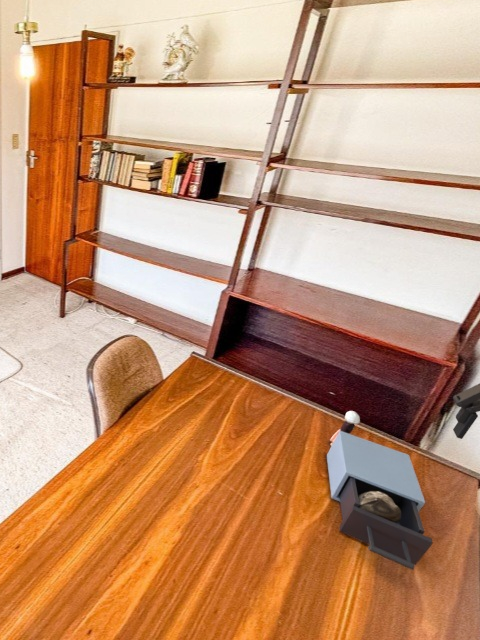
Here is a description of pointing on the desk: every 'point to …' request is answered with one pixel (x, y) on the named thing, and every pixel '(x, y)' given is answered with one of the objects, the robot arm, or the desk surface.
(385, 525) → the drawer
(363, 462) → the cabinet
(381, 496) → the fossilized seashell
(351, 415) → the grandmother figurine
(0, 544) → the desk surface
